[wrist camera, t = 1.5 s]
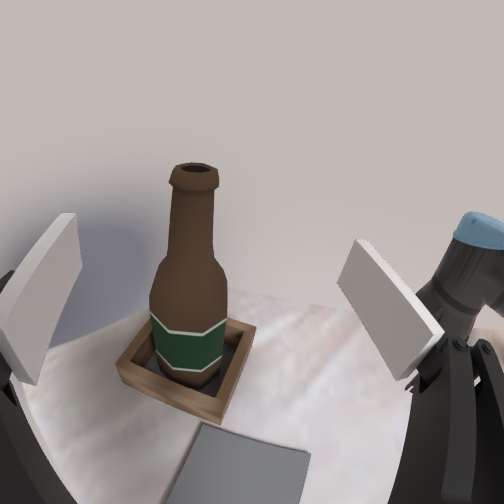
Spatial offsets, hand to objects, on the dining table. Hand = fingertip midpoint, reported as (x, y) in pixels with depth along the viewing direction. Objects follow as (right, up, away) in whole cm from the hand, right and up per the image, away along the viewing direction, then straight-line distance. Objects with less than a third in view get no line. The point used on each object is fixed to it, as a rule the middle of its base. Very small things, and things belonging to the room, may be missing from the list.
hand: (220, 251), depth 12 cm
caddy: (-6, -14, +19) cm, 25 cm away
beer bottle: (-6, -14, +20) cm, 25 cm away
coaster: (0, -23, +7) cm, 24 cm away
